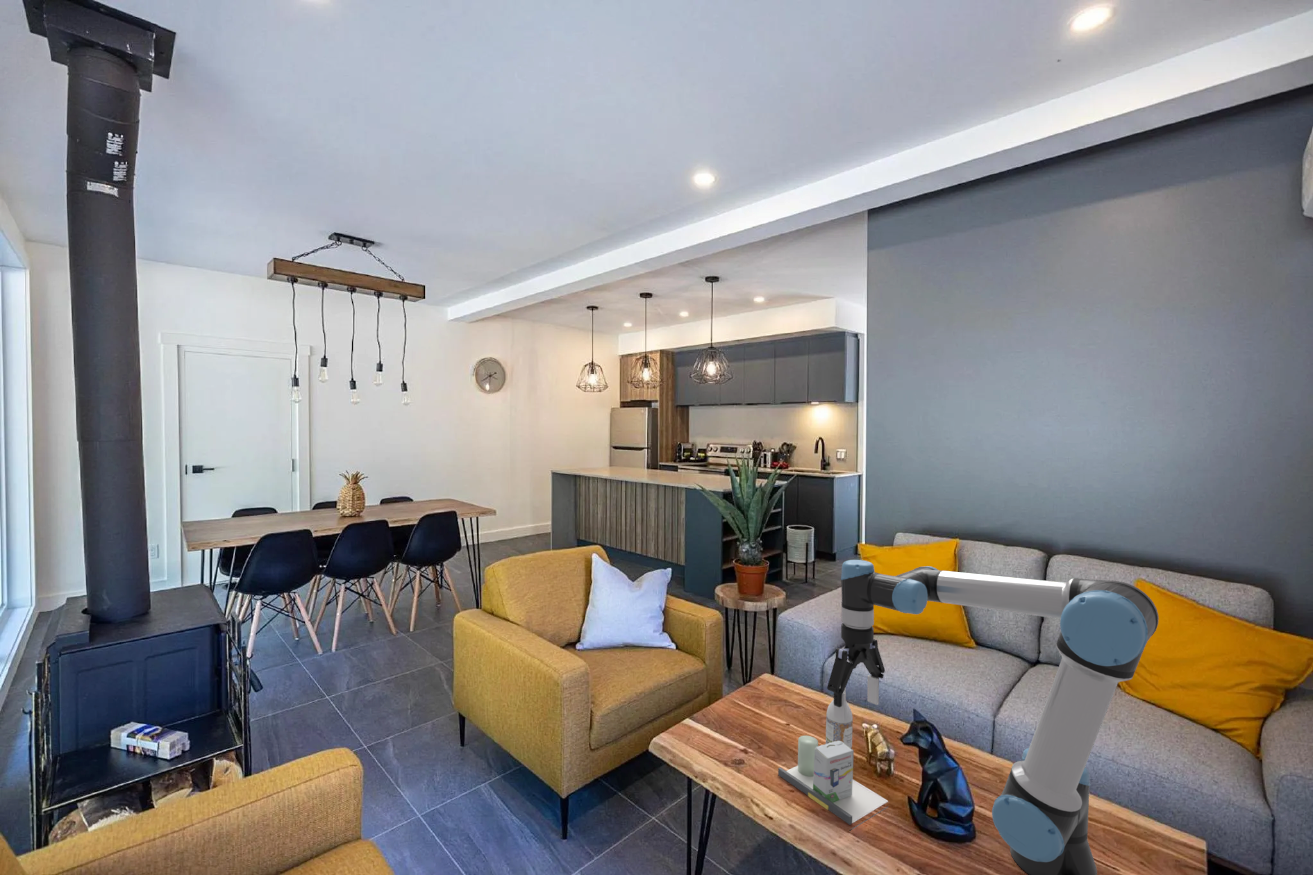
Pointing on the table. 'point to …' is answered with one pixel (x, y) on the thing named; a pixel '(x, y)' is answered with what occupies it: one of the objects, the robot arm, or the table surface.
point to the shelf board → (844, 808)
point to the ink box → (833, 771)
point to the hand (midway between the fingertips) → (857, 710)
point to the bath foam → (839, 726)
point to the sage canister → (806, 755)
